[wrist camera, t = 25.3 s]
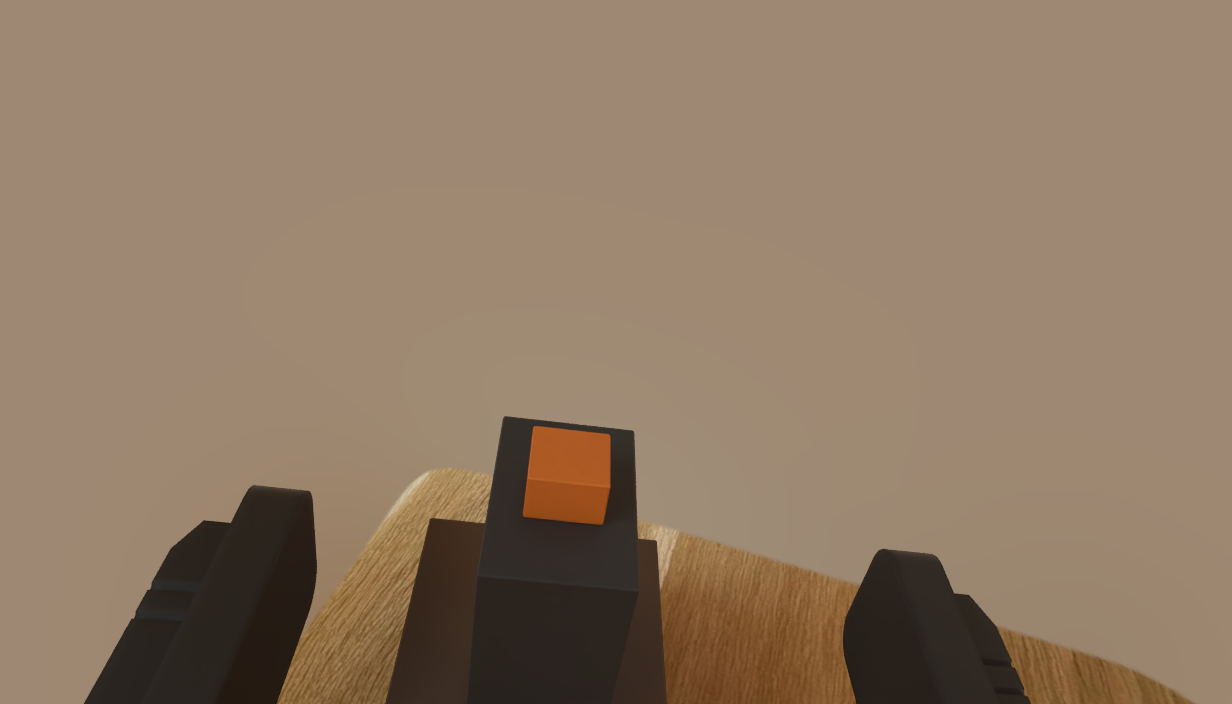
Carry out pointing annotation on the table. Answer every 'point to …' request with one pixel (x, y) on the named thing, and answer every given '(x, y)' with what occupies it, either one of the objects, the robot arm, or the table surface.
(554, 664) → the tall dark pillar
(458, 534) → the shoe shelf
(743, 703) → the table surface
